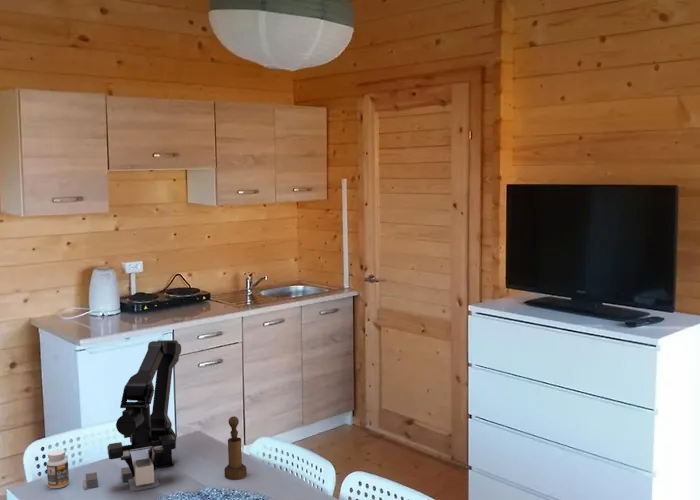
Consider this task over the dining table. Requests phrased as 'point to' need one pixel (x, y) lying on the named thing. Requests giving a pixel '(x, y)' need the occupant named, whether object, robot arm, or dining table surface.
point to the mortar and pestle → (234, 454)
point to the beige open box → (143, 471)
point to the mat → (144, 486)
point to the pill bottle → (57, 469)
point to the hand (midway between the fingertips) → (143, 474)
